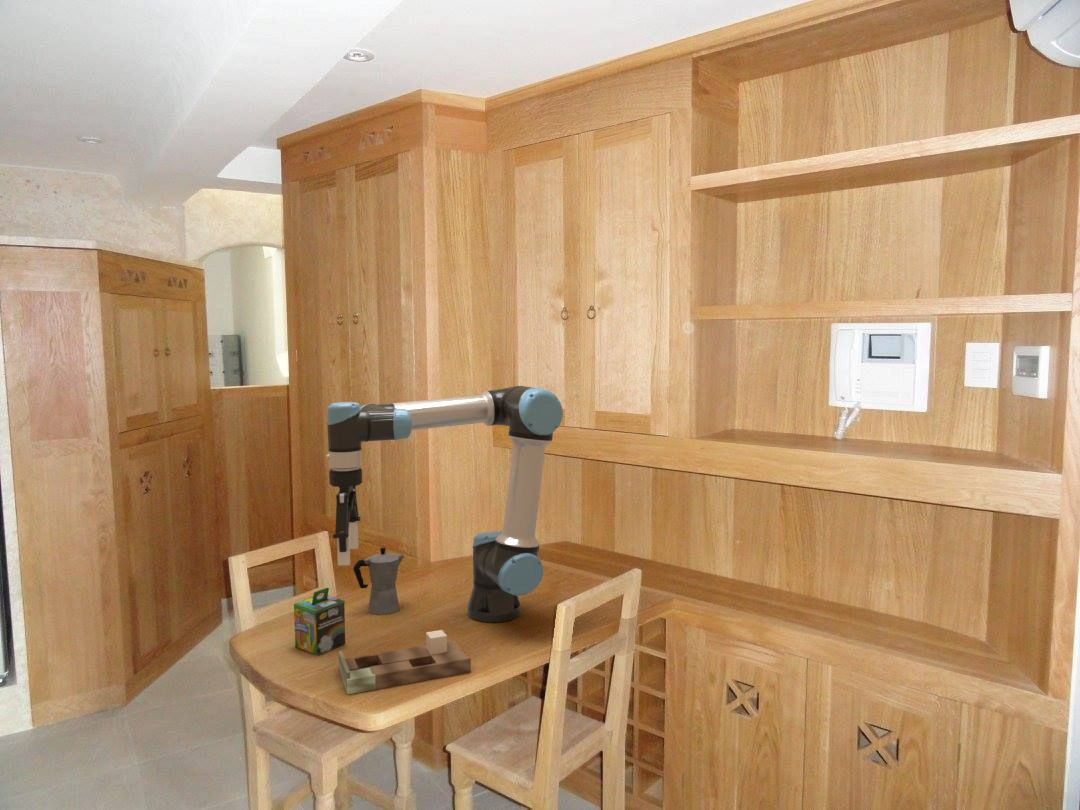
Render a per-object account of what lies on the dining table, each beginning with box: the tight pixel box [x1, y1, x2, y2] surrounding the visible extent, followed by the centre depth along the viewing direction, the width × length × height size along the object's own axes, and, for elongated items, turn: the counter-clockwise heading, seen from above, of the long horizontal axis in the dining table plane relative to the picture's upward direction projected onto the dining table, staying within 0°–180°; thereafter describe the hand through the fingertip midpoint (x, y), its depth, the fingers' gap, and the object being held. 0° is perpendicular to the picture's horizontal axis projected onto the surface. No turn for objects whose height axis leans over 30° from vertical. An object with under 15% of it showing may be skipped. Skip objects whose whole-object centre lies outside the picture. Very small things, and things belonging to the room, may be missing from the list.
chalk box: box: [293, 587, 346, 657], centre depth 187 cm, size 9×9×15 cm
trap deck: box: [337, 640, 472, 695], centre depth 173 cm, size 28×13×4 cm, turn 114°
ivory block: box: [425, 629, 448, 655], centre depth 179 cm, size 4×4×4 cm
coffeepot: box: [352, 547, 405, 616], centre depth 212 cm, size 15×9×18 cm, turn 126°
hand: (348, 556), depth 177 cm, fingers open, 13 cm apart
